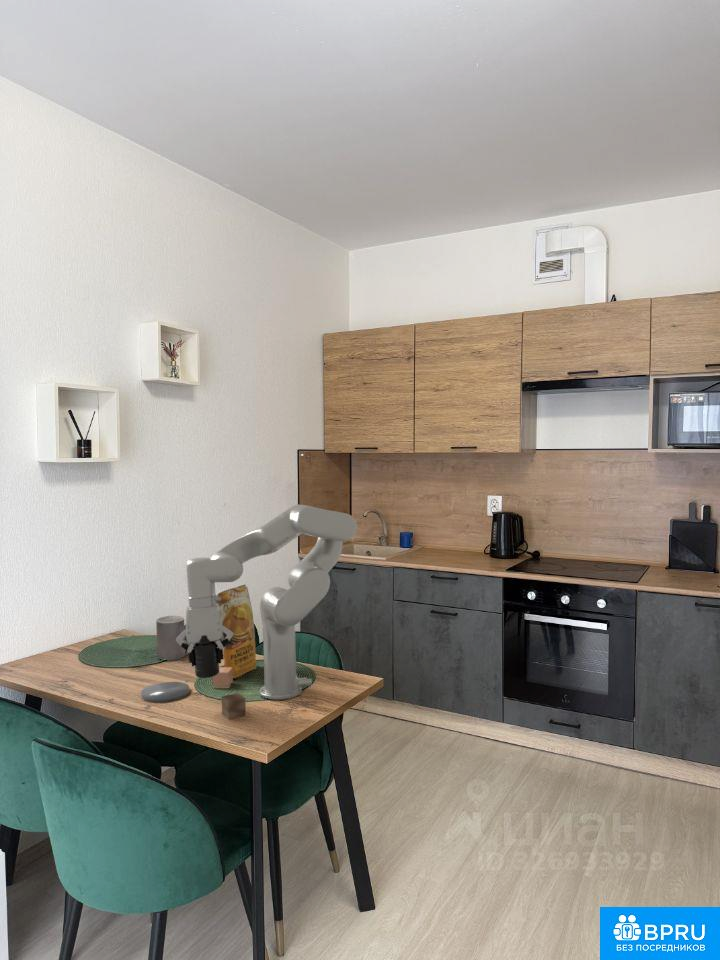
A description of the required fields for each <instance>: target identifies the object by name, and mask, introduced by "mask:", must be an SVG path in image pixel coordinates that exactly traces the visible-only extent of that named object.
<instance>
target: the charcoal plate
mask: <svg viewBox="0 0 720 960" xmlns="http://www.w3.org/2000/svg"><path fill="white" fill-rule="evenodd" d="M189 693H190V685H189V684H188V683H185V682H180V681H165V682H164V681H163V682H159V683H155V684H151V685H148V686H146V687H145V688H143V689H142V690H141V691H140V697H142V698H141V699H142V700H143V699H144V701H145V700H146V702H149V701H151V702H150V703H165V702H167V703H168V702H172V701H177V700H179V699H182V698H184V697H186V696H188V694H189Z"/></svg>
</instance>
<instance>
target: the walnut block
mask: <svg viewBox="0 0 720 960" xmlns="http://www.w3.org/2000/svg"><path fill="white" fill-rule="evenodd" d="M246 704H247V703H246V698H245V696H243V694H241V693H240V692H236V693H232V694H227V695H224V696H221V715H222V716H224V717H225V718H226V719H227V720H228V721H230V720H234V719H239V718H242V717H246V716H247V709H246V706H247V705H246Z"/></svg>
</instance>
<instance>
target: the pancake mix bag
mask: <svg viewBox="0 0 720 960" xmlns="http://www.w3.org/2000/svg"><path fill="white" fill-rule="evenodd" d="M248 589H249V588H248V586H246V584H242V585H238V586H236V587H233V588H229V589H226V590H223V591H220V592H218V593H217V594H216V595H217V596H221V601H218V602H217V603H216V604H219V607H220V611H221V617H222V625H223V626H224V627H226V628H227V629H229V630H230V631H231V632H233V636H232V638H231V639H230V640H229V642H228V643H227V644H226V645H225V646H224V648H223V660H224V661H223V662H224V666H223V667H232V669H233V678H235V679H237V678H236V677H238V678H240V677H242V676H241V675H243V674H245V673H247V672H249V671H251V670H253V669H255V668H256V669H257V660H256V658H257V657H256V652H257V651H256V640H255V637H256V636H255V623H254V613H253V607H252V603H251V602H252V601H251V599H250V593H249V590H248ZM226 636H227V634H225V633H224V632H223V636H222V639H221V640H222V641H223V640H224V639H225V638H226ZM256 669H255V670H256ZM253 671H254V670H253ZM251 672H252V671H251ZM249 673H250V672H249ZM247 674H248V673H247ZM245 675H246V674H245ZM239 676H240V677H239ZM243 676H244V675H243Z"/></svg>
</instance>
